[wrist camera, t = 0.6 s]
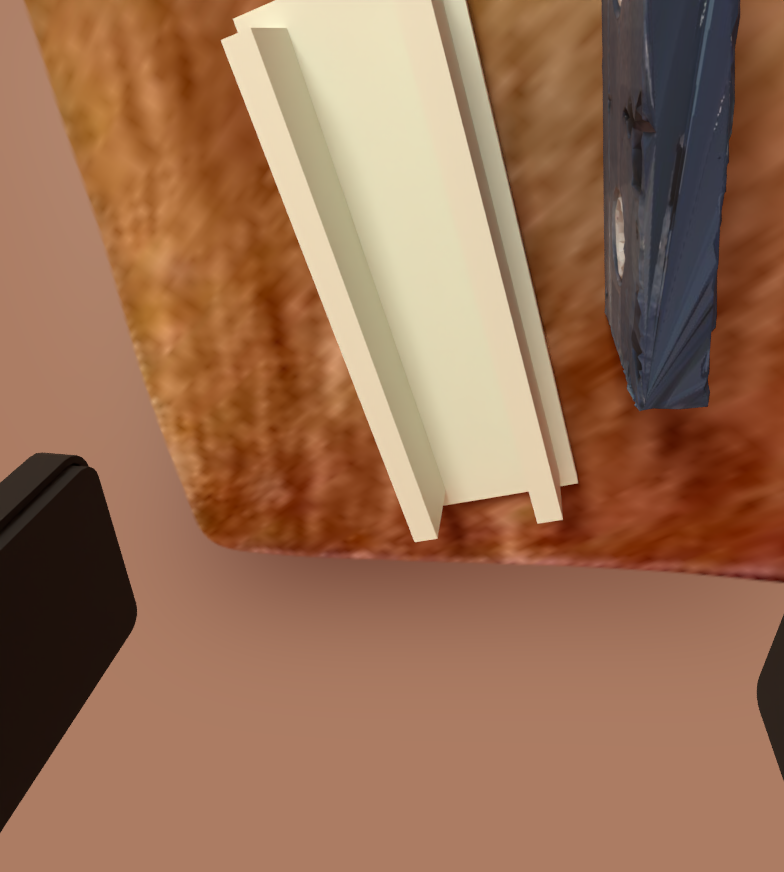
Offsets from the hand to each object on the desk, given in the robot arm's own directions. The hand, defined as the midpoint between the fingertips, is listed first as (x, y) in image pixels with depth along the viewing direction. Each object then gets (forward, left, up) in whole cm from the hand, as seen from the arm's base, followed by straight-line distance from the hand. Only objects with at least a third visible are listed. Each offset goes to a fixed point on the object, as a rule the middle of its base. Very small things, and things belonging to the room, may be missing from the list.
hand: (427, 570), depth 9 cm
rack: (+4, +3, -24) cm, 25 cm away
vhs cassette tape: (-6, -2, -25) cm, 26 cm away
